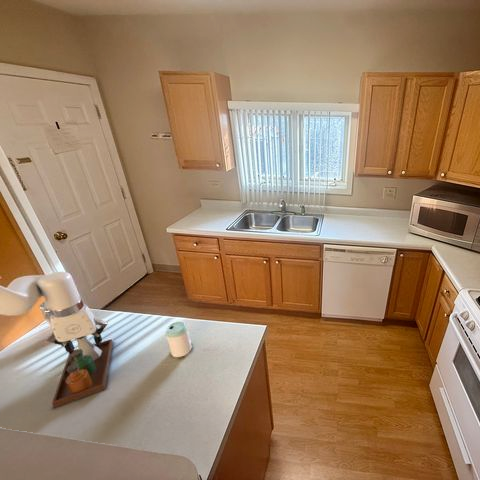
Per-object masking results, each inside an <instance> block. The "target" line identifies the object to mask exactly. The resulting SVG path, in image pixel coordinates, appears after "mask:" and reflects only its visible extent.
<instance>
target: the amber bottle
mask: <svg viewBox="0 0 480 480" xmlns="http://www.w3.org/2000/svg"><path fill="white" fill-rule="evenodd" d="M67 371H68V373H70V375H69V376H68V378H67V379H66V383H67V385H68V387H69V389H70V390H71V392H72V394H75V393H78V392H81V391H84V390H87V389H89V388H91V386H92V385H93V381H92V379H91V377H90V375H89V373H88V371H87V370H86V369H81V370H79V366H78V364H72V365H70V366H69V367H68V368H67Z"/></svg>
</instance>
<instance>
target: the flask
mask: <svg viewBox="0 0 480 480" xmlns="http://www.w3.org/2000/svg"><path fill="white" fill-rule="evenodd" d="M87 336H88V335H87ZM87 336H83V337H80V338H76V339H74V340H75V341H76V342H77V349H78V350H79V349H81V350H82V351H83V355H90V356H91V357H92V360H93V361H94V360H96V359H98V358H99V357H100V356H101V354H102V350H100V349H99V348H98V347H96V346H95V345H93V344H94V343H92V342H91V341H90V340H89V338H88V337H87Z"/></svg>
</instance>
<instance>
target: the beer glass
mask: <svg viewBox="0 0 480 480" xmlns="http://www.w3.org/2000/svg"><path fill="white" fill-rule="evenodd" d="M38 307H39V309H40V310H39V311H40V312H41V315H42V317H43V318H44V320H45V321H46V323H47V324H49V326H50V327H51V328H52V325H51V320H50V317H51V315H52V314H51V313H45V309H48V308H49V306H48V304H47V302H46V300H45V301H43V302H41V303H40V304H39V306H38Z"/></svg>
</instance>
